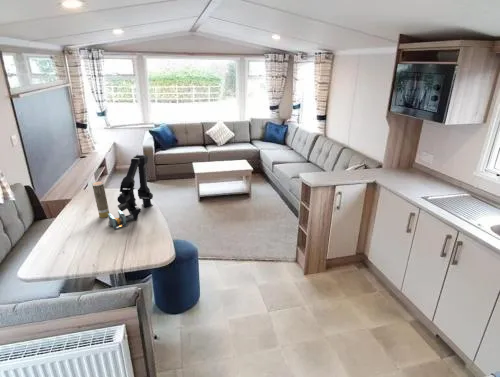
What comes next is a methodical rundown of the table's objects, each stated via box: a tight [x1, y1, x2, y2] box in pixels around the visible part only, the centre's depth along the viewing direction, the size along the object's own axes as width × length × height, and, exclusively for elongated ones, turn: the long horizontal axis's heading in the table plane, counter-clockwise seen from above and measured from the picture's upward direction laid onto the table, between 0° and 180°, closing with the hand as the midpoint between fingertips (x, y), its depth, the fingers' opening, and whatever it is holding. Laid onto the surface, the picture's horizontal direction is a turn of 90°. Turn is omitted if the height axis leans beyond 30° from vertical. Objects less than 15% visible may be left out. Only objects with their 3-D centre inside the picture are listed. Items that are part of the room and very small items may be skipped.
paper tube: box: [92, 181, 110, 219], centre depth 215 cm, size 7×7×25 cm
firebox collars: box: [108, 209, 128, 231], centre depth 207 cm, size 14×8×7 cm, turn 38°
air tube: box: [108, 214, 139, 227], centre depth 210 cm, size 18×4×4 cm, turn 128°
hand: (133, 218), depth 215 cm, fingers open, 8 cm apart
